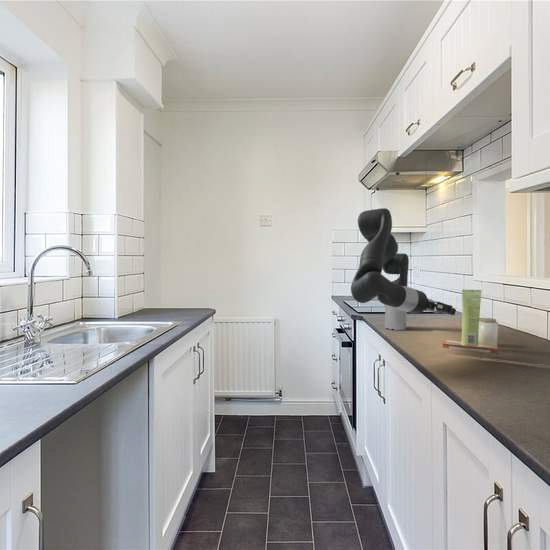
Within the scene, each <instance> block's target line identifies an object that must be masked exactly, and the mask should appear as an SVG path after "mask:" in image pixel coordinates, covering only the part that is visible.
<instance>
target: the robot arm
mask: <svg viewBox="0 0 550 550" xmlns="http://www.w3.org/2000/svg"><path fill="white" fill-rule="evenodd" d="M391 214H392V213H391V211H390V210H389V209H388V208H384V207H383V208H382V207H381V208H376V209H375V208H374V209H371V210H370V209H369V210H364V211H362V212H360V213H359V215H358V218H357V225H358V229H359V231H360V233H361V236H363V238H364V239H365V241H367V242H368V243H367V244H366V245H365V247H364V248H363V250H362V251H361V254H360V258H359V259H360V260H359V266H358V269H357V271H356V272H355V275H354V277H353V280H352V281H351V284H350V292H351V296H352V297H353V299H354V300H355V302H358V303H361V304H365V303H368V302H370V301H372V300H373V299H374V298H376V297H377V299H378V301H379V302H380V303H381V304H383V305H385V306H384V328H385V329H387V328H388V330H392V329H394V330H395V331H404V330H407V327H408V326H407V325H408V324H407V322H408V320H407V319H408V313H410V314H414V315H419V314H422V313H423V312H428V313H429V312H431V313H436V314H439V313H443V314H447V315H451V316H455V315H456V313H457V312H456V308H454V307H453V305H451V304H446V303H444V302H441V301H435V300H433V299H431V298H428V297H427V294H426V293H425V292H424V291H422V290H419V289H416V288H412V287H410V286H408V282H409V281H408V277H409V266H410V265H409V263H410V262H409V261H410V260H409V256H408V254H407V253H398V251H399V250H398V249H399V245H398V243H397V240H396V238H395V236H394V235H393V234H392V229H393V218H392V215H391ZM382 271H383V272H384V273H385V274H387V275H399V277H398V278H396V279H395V280H393V281H391V280H390V279H389V278H387V277H385V276H384V275H383V274H382ZM394 330H393V331H394Z"/></svg>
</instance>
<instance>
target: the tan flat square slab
mask: <svg viewBox="0 0 550 550" xmlns="http://www.w3.org/2000/svg"><path fill="white" fill-rule="evenodd" d="M461 342H462V340H455V339H447V340H446V341H445V343H442V348H445V349H451V350H462V351H471V352H480V353H488V354H498V353H499V349H498V348H499V347H498V345H497V346H494V347H491V346H482V345H479V344H478V347H473V346H463V345H461Z"/></svg>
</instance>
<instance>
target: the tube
mask: <svg viewBox="0 0 550 550" xmlns="http://www.w3.org/2000/svg"><path fill="white" fill-rule="evenodd" d="M481 301H482V289H464V288H463V289H462V290H461V305H462V307H461V341H462V342H461V345H463V346H473V347H478V332H479V321H480V313H481Z"/></svg>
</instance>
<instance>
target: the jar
mask: <svg viewBox="0 0 550 550" xmlns="http://www.w3.org/2000/svg"><path fill="white" fill-rule="evenodd" d="M498 335H499V322H498V321H497V318H493V317H492V318H491V317H479V332H478V344H479V345H482V346H491V347H494V346H497V347H498V339H499V338H498V337H499V336H498Z"/></svg>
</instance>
